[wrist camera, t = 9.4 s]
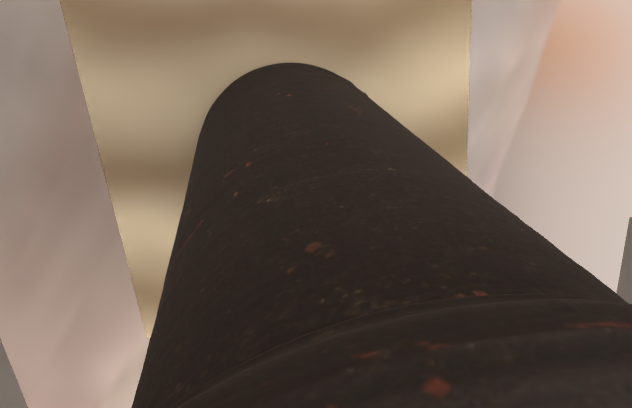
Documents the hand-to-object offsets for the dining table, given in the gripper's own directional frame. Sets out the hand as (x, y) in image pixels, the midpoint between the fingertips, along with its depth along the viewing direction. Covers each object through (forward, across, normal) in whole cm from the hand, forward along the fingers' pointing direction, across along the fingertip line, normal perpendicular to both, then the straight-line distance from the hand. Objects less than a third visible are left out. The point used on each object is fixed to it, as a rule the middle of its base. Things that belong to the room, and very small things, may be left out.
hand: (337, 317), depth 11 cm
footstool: (+21, +1, 0) cm, 21 cm away
